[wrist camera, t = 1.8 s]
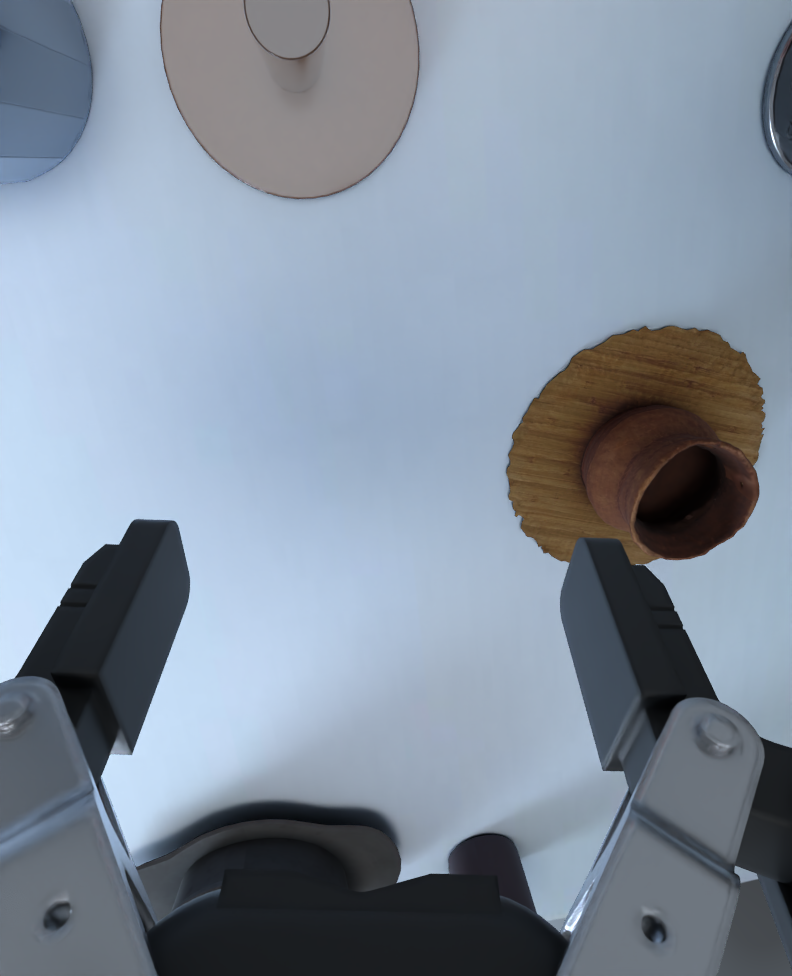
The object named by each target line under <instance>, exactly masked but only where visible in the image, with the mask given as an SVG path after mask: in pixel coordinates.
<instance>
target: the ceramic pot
mask: <svg viewBox="0 0 792 976" xmlns="http://www.w3.org/2000/svg"><path fill="white" fill-rule="evenodd" d="M759 380H760V378H759V377H758V376H757V375H756V374H755V373H754V372H753V371H752V369H751V367H750V365H749V364H748V362H747V359H746V354H745V353H744V352H742V353H741V354H740V353H739V352H737V351H736V350H734V349H732V348H730V345H729V343H728V342H726V341H723V340H722V338H721V336H720V335H719V334H717V333H714V332H710V331H709V330H705V331H698V330H697V329H696V328H693V329H690V330H685V329H681V328H679V327H675V326H668V327H665V328H663V329H661V330H655V331H651V330H649V329H648V328H647V327H646V326H645V327H644V328H642V329H641V330H639V331H635V330H631V331H629V332H627V333H625V334H622V335H613V336H612V337H610V338H609V339H608V340H607V341H606V342H604V343H602V344H600V345H598V346H597V347H595V348H593V349H587V350H583V351H582V352H580V353H578V354H577V355H576V356H574V357H573V358H572V360H571V362H570V364H569V366H568V367H567V369H566V370H565V371H563V372H561V373H559V374H558V375H557V376H556V377H555V378H554V379H553V380H552V381H550V382H549V383H548V384H547V385H546V387H545V388H544V390H543V391H542V393H541V394H540V397H539V399H537V398H534V400H533V402H532V403H531V405H530V407H529V409H528V412H527V413H526V414H525V415H524V416H523V423H521V424H520V425H519V427H518V428H517V429H516V430H515V432H514V433H513V436H512V439H513V440H514V445H513V448H512V450H511V451H510V453H509V455H508V456H509V459H510V466H509V467H508V468H507V476H508V479H509V484H510V494H509V496H508V497H509V500H511V501H513V509H514V510H515V511H516V513H515V516H516V517H517V516H518V515H520V516H522V517H523V518H524V520H523V521H522V525H521V529H522V530H523V532H524V533H525V534H526V536H527V537H532V538H534V539H535V540H536V541H537V544H538V547H540V546H542V549H543V552H544V553H549V554H550V555H551V556H553V557H554V558H556V559H558V560H560V561H567V562H569V563H570V560H571V557H572V554H573V550H574V547H575V544H576V542H577V540H578V539H579V538H581V537H585V538H611V539H618V540H620V541H621V543H622V545H623V547H624V549H625V552H626V554H627V556H628V559H629V561H630V563H631V565H635V564H642V565H643V564H647V563H649V562H651V561H653V560H656V559H659V558H663V559H666V560H683V559H691V558H695V557H697V556H702V555H705V554H706V553H707V552H708V551H709V550H711V549H713V548H714V547H716V546H717V545H719V544H721V543H723V542H725V541H726V540H728V539H730V538H732V537H733V536H734V535H735V534H736V532H737V531H738V530H740V529H741V528H743V527H744V525H745V524H746V522H747V520H748V518H749V517H750V516H751V514H752V512H753V510H754V508H755V506H756V503H757V501H758V498H759V483H758V477H757V473H756V471H755V469H754V467H753V465H754V464H755V463H756V461H757V459H758V456H759V454H758V451H759V447H760V443H761V440H762V437H763V435H764V434H763V435H761V433H762V431H763V430H764V429H765V428H762V429H761V427H762V424H761V423H762V422H763V421H764V419H765V413H764V412H763V411H761V410H762V409H763V407H762V406H763V404H764V403H765V400H764V399H762V398H761V396H762V394H763V388H762V387H760V386H759V385H758V382H759Z"/></svg>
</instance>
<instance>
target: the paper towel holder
mask: <svg viewBox="0 0 792 976" xmlns="http://www.w3.org/2000/svg"><path fill="white" fill-rule="evenodd" d="M160 37H161V51H162V57H163V63H164V69H165V72H166V76H167V80H168V83H169V87H170V90H171V92H172V95H173V97H174V100H175V102H176V105H177V108H178V110H179V111H180V113H181V115H182V117H183V119H184V121H185V123H186V125H187V126H188V128H189V129H190V131H191V132H192V134H193V135H194V137H195V138H196V140H197V141H198V143H199V144H200V145H201V146H202V147H203V148H204V150H205V151H206V152H207V153H208V154H209V156H210V157H212V158H213V159H214V160H215V161H216V162H217V163H218V164H219V165H220V166H221V167H222V168H223V169H225V170H226V171H227V172H229V173H230V174H231V175H233V176H234V177H235V178H237V179H238V180H240V181H242V182H244V183H245V184H247V185H249V186H251V187H253V188H255V189H258V190H260V191H263V192H265V193H268V194H272V195H276V196H280V197H285V198H293V199H313V198H319V197H325V196H329V195H332V194H335V193H338V192H341V191H344V190H346V189H348V188H350V187H352V186H354V185H356V184H357V183H359V182H360V181H361V180H363V179H364V178H366V177H367V176H369V175H370V174H371V173H372V172H373V171H374V170H375V169H376V168H377V167H378V166H380V165H381V163H382V162H383V161H384V160H385V159H386V157H387V156H388V155H389V154H390V153H391V151H392V150H393V148H394V146H395V145H396V143H397V142H398V140H399V139H400V137H401V135H402V132H403V130H404V128H405V126H406V124H407V122H408V119H409V116H410V113H411V110H412V107H413V104H414V99H415V95H416V90H417V84H418V75H419V41H418V31H417V25H416V20H415V15H414V11H413V7H412V4H411V0H162V4H161V18H160Z"/></svg>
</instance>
